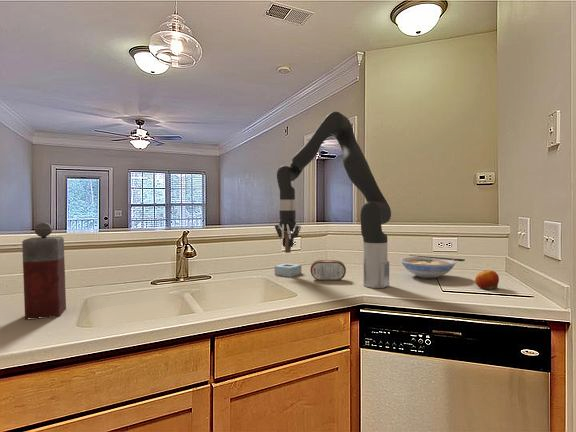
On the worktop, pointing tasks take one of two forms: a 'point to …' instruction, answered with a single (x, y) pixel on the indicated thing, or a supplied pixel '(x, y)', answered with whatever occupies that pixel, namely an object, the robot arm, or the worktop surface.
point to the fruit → (487, 279)
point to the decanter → (44, 274)
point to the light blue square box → (287, 269)
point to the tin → (328, 270)
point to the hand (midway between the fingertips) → (287, 246)
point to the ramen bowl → (429, 265)
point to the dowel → (287, 243)
